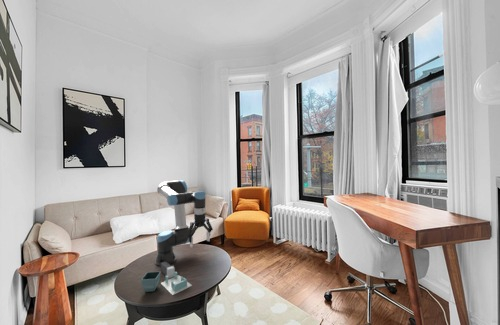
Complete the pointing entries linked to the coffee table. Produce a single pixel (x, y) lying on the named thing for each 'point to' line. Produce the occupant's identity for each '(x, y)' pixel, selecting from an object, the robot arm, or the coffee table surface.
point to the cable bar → (167, 269)
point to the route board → (175, 284)
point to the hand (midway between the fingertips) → (200, 243)
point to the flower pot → (150, 281)
